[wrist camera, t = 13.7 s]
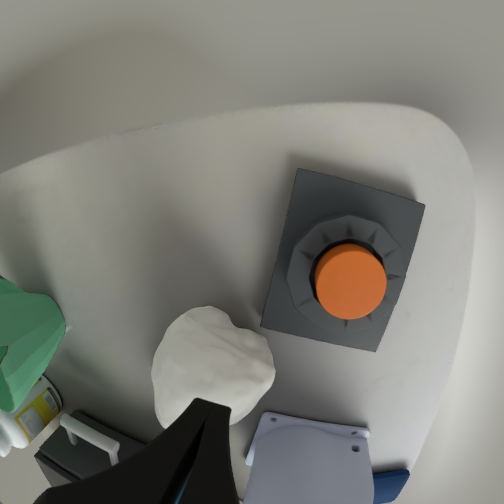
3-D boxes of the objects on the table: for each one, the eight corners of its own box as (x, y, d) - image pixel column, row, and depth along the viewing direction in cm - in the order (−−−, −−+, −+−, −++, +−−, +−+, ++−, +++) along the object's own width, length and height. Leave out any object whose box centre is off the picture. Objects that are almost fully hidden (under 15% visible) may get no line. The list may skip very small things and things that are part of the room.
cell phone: (412, 473, 20) (411, 467, 21) (276, 483, 23) (277, 478, 23) (394, 501, 22) (394, 497, 23) (278, 509, 24) (279, 504, 25)
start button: (386, 252, 15) (396, 260, 13) (366, 312, 16) (373, 325, 14) (324, 235, 15) (327, 242, 14) (307, 298, 16) (307, 311, 15)
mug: (96, 315, 22) (14, 373, 13) (73, 377, 25) (15, 430, 15) (6, 220, 22) (-70, 240, 13) (-5, 290, 25) (-65, 318, 15)
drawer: (68, 383, 24) (27, 421, 17) (156, 425, 23) (122, 480, 16) (90, 464, 28) (66, 497, 21) (157, 496, 27) (138, 534, 20)
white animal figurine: (276, 418, 11) (183, 487, 16) (294, 321, 19) (216, 411, 24) (146, 342, 11) (105, 441, 16) (211, 269, 19) (155, 374, 24)
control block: (418, 203, 17) (438, 207, 14) (372, 343, 19) (381, 367, 16) (297, 168, 17) (297, 165, 14) (262, 319, 20) (255, 340, 17)
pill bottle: (22, 371, 27) (-34, 415, 16) (40, 363, 26) (-25, 414, 15) (50, 411, 28) (1, 460, 17) (72, 408, 27) (17, 466, 15)
